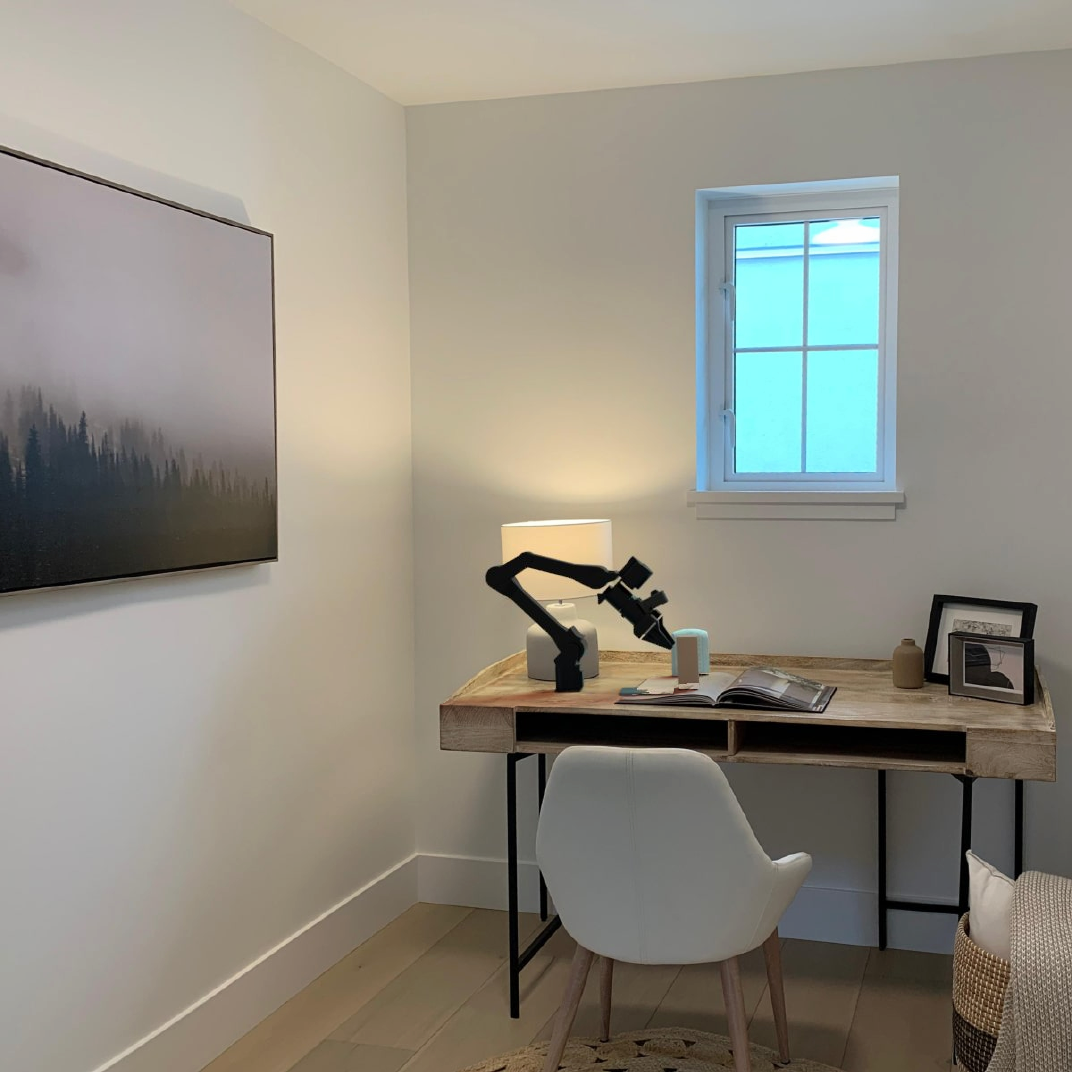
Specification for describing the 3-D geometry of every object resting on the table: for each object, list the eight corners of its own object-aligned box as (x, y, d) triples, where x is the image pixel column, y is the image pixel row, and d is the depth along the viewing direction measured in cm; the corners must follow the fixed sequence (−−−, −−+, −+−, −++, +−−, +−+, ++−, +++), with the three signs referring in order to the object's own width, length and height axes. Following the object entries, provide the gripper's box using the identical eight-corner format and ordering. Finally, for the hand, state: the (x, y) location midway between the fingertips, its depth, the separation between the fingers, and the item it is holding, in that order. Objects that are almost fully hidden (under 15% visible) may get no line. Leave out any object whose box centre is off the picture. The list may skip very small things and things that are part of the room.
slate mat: (619, 695, 288) (619, 693, 288) (622, 689, 297) (622, 687, 297) (673, 694, 286) (673, 692, 286) (674, 688, 295) (674, 686, 295)
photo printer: (707, 673, 320) (705, 627, 320) (712, 675, 316) (710, 628, 316) (670, 675, 319) (668, 629, 319) (674, 677, 315) (672, 630, 314)
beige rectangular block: (678, 690, 293) (676, 637, 292) (679, 686, 298) (677, 634, 297) (699, 689, 292) (697, 636, 292) (699, 686, 297) (697, 634, 297)
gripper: (644, 582, 287) (693, 626, 285) (651, 577, 305) (696, 618, 303) (613, 616, 288) (661, 660, 286) (622, 609, 307) (667, 650, 305)
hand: (672, 646), depth 295 cm, fingers open, 9 cm apart
